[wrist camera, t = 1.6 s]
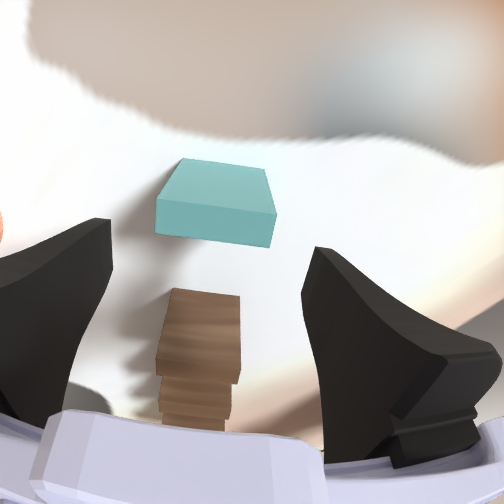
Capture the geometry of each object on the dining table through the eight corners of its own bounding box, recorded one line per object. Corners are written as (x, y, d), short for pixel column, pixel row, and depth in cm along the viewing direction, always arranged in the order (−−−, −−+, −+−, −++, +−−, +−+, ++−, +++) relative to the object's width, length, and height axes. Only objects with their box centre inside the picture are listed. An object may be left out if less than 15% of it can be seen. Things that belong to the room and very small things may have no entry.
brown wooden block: (171, 330, 26) (158, 400, 20) (231, 338, 26) (231, 408, 20) (171, 344, 27) (159, 411, 20) (229, 351, 27) (228, 419, 21)
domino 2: (172, 287, 24) (155, 358, 18) (239, 296, 24) (240, 368, 18) (172, 304, 24) (156, 374, 18) (236, 312, 25) (237, 384, 19)
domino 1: (182, 158, 19) (156, 198, 13) (264, 169, 19) (277, 214, 13) (180, 182, 20) (154, 233, 14) (259, 193, 20) (269, 248, 14)
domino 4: (171, 365, 28) (161, 429, 22) (225, 371, 29) (224, 436, 23) (171, 375, 29) (162, 437, 23) (223, 381, 29) (222, 444, 23)
